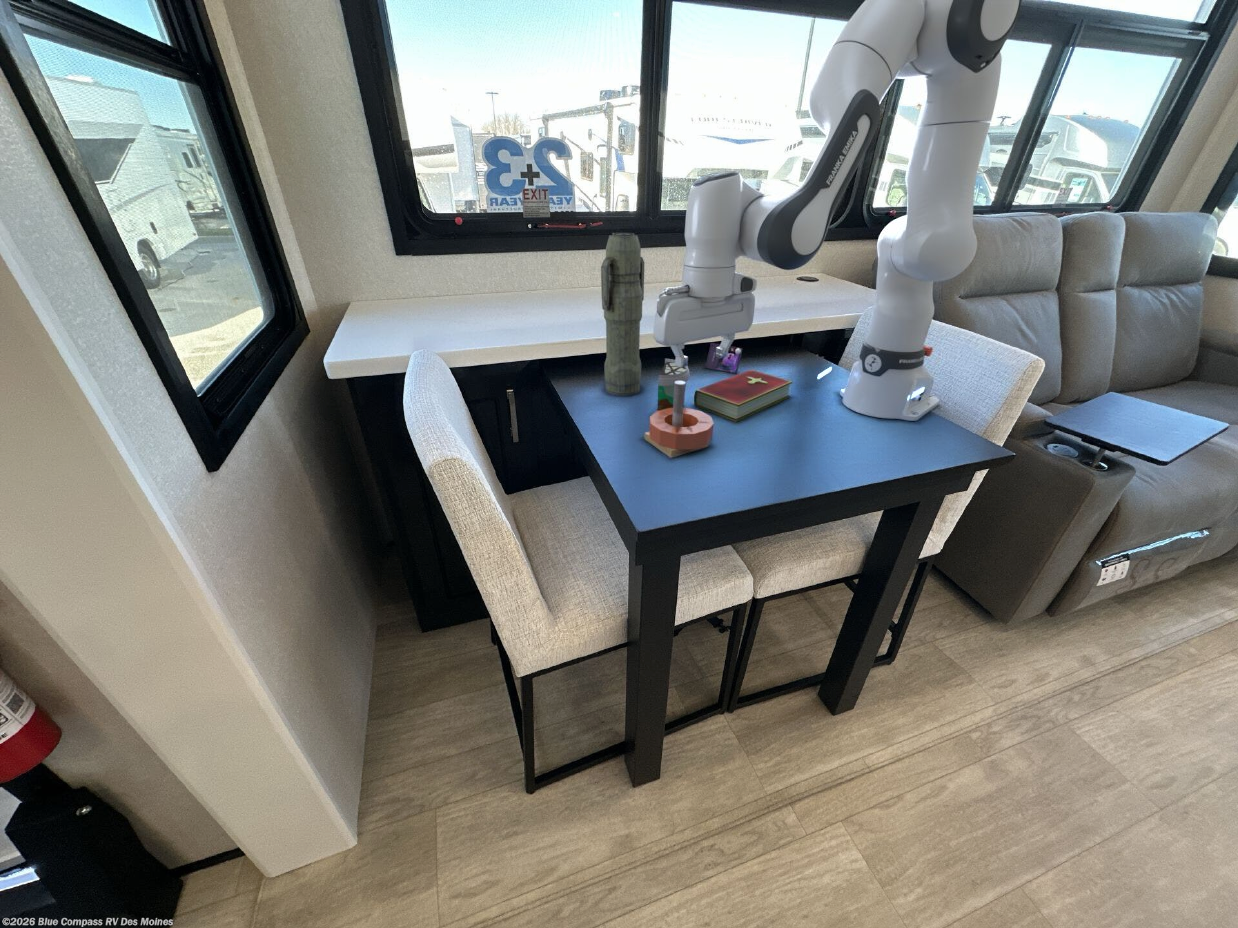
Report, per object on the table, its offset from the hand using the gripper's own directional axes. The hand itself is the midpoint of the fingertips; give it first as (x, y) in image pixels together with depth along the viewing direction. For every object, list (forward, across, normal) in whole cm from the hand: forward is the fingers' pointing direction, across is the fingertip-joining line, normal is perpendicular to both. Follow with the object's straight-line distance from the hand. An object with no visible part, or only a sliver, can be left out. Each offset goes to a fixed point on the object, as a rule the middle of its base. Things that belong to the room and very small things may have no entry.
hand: (701, 361), depth 89 cm
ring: (+14, -4, 0) cm, 15 cm away
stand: (+16, -5, 0) cm, 16 cm away
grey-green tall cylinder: (+16, +1, +30) cm, 34 cm away
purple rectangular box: (+16, +33, +29) cm, 47 cm away
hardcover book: (+16, +21, +9) cm, 28 cm away
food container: (+16, +4, +13) cm, 21 cm away
